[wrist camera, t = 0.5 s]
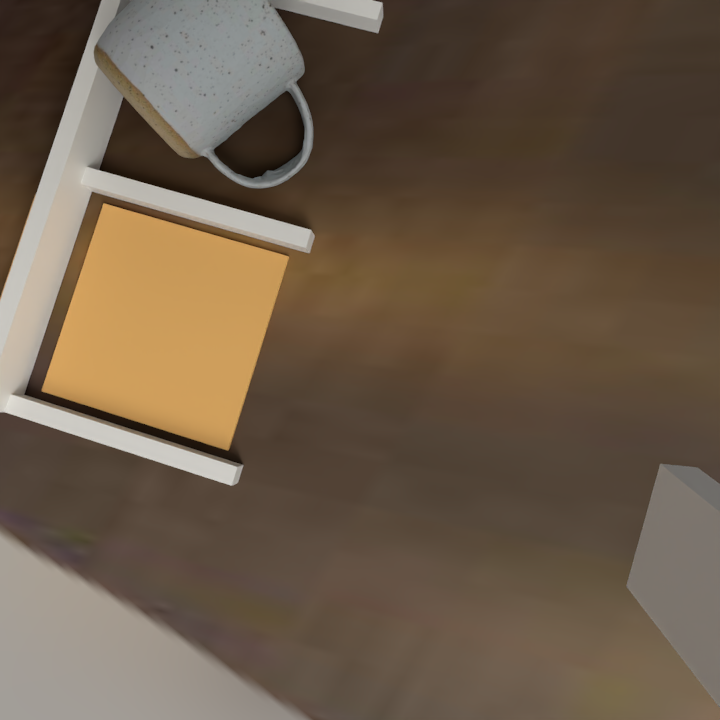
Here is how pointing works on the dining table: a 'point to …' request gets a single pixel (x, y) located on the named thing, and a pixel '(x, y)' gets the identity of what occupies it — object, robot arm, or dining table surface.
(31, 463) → the dining table surface
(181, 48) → the ceramic mug
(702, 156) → the dining table surface
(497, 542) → the dining table surface
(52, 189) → the bay rack
